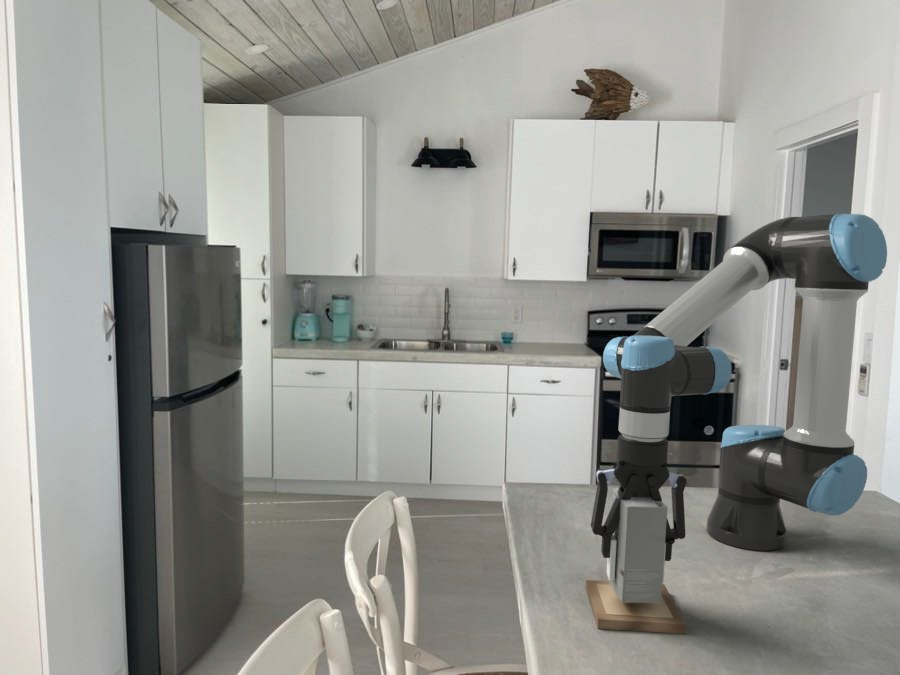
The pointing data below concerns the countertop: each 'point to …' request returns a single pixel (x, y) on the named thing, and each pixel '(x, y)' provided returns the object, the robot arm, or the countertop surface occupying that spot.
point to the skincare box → (639, 549)
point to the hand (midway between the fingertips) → (634, 577)
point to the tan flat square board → (633, 611)
